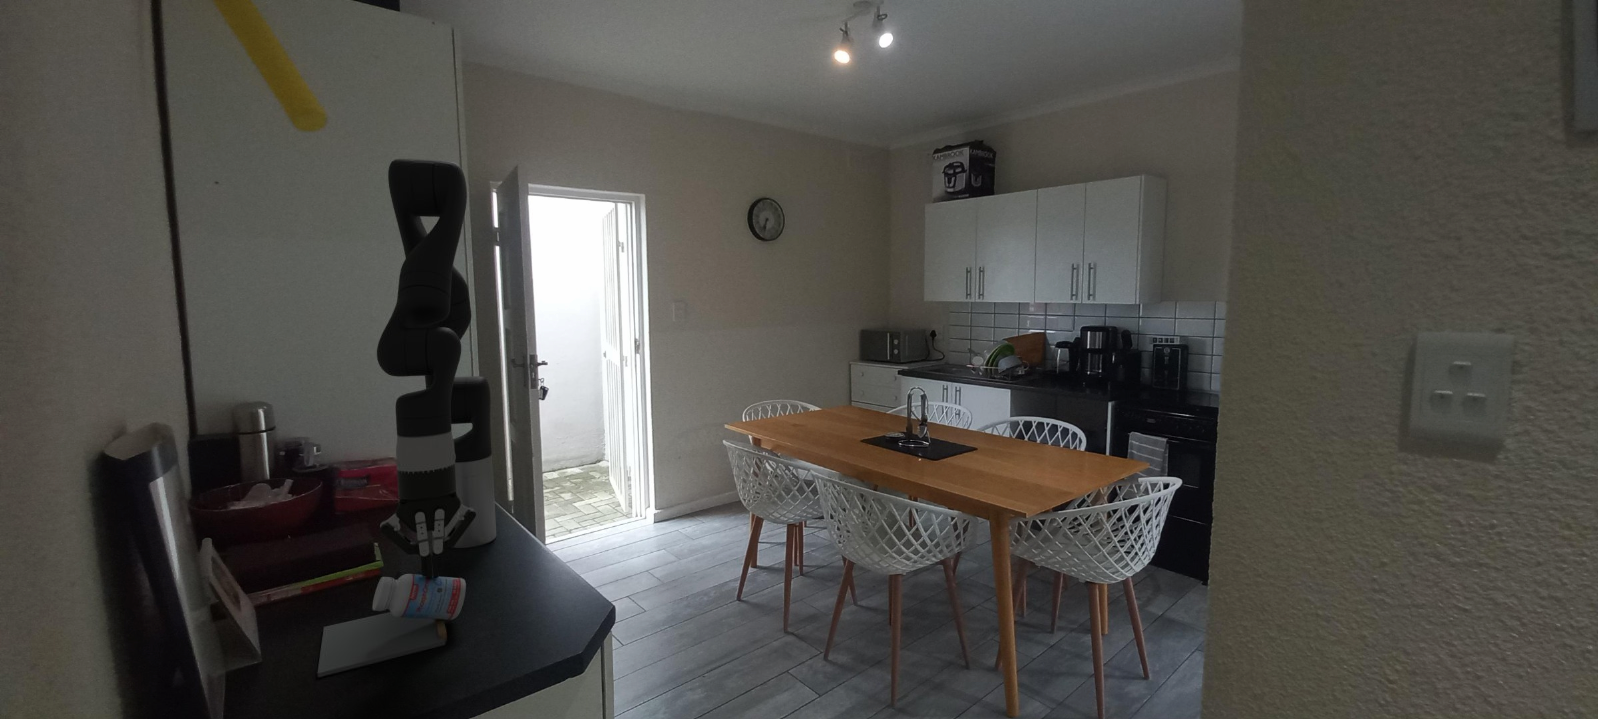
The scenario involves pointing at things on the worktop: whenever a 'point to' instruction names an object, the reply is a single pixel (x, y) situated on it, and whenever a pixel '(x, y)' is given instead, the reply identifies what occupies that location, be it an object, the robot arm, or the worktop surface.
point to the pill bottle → (420, 596)
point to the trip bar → (441, 629)
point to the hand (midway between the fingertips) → (432, 577)
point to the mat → (374, 641)
